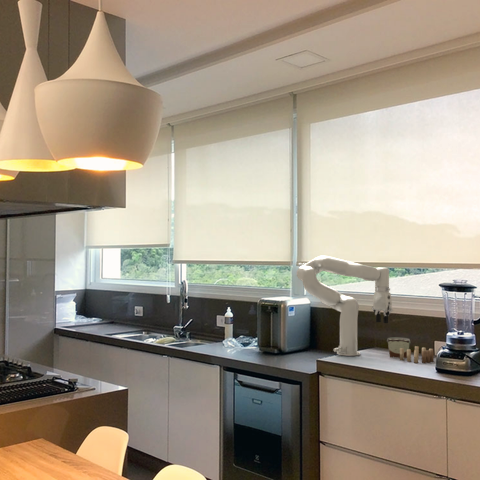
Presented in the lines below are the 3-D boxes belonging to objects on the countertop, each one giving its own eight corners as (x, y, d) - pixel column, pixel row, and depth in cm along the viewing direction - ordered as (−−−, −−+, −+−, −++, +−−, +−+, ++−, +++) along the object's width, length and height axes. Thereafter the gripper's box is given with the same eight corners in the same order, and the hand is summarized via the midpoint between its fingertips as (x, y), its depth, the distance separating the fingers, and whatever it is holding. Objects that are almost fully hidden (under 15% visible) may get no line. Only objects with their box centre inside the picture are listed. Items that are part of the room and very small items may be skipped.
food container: (410, 356, 299) (410, 337, 299) (410, 358, 293) (410, 339, 294) (386, 355, 302) (386, 336, 303) (386, 357, 297) (386, 338, 297)
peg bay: (420, 364, 277) (420, 352, 277) (399, 360, 288) (399, 348, 288) (438, 361, 285) (438, 349, 285) (416, 357, 296) (416, 346, 296)
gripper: (398, 290, 304) (398, 323, 303) (375, 288, 318) (375, 320, 317) (389, 290, 299) (389, 324, 299) (365, 289, 313) (365, 321, 313)
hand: (382, 322), depth 308 cm, fingers open, 4 cm apart
